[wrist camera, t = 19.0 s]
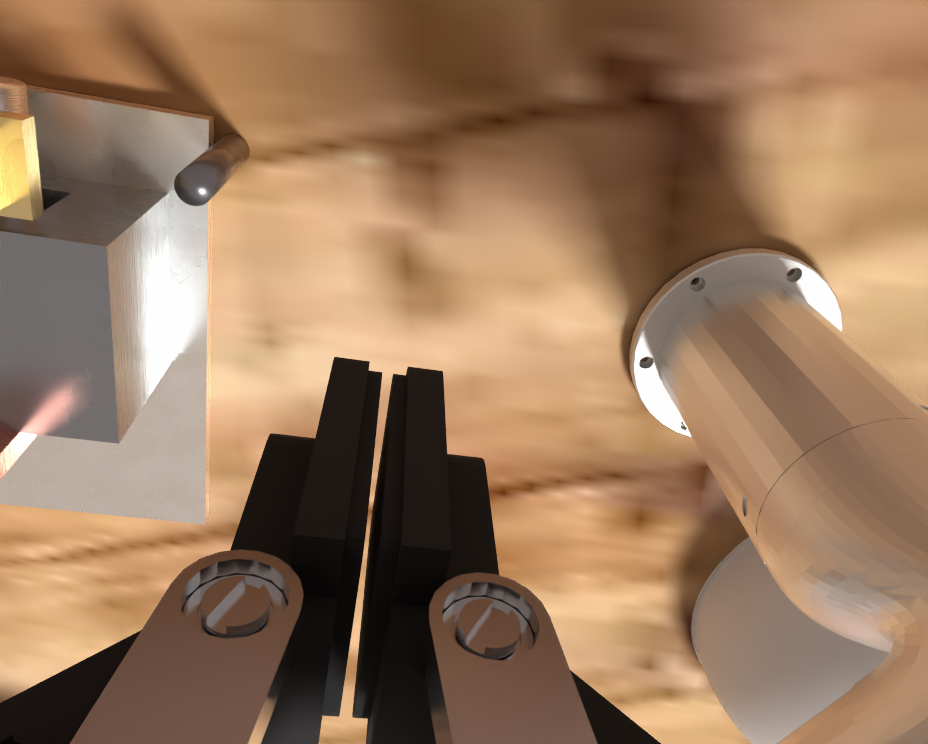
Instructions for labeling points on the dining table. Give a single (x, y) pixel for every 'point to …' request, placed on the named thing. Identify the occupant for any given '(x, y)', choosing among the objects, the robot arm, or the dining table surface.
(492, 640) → the robot arm
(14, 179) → the plate
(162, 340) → the hitch block
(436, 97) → the dining table surface
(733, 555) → the kettle
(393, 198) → the dining table surface
